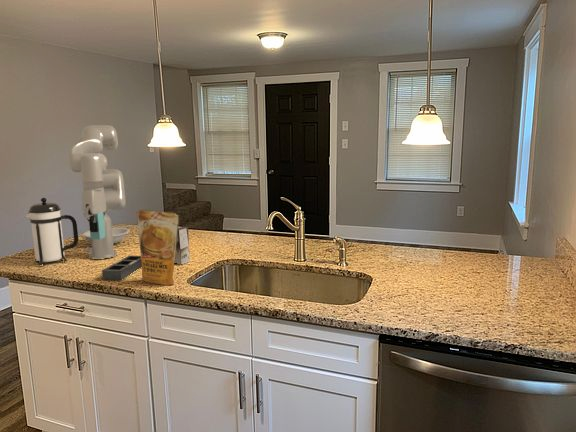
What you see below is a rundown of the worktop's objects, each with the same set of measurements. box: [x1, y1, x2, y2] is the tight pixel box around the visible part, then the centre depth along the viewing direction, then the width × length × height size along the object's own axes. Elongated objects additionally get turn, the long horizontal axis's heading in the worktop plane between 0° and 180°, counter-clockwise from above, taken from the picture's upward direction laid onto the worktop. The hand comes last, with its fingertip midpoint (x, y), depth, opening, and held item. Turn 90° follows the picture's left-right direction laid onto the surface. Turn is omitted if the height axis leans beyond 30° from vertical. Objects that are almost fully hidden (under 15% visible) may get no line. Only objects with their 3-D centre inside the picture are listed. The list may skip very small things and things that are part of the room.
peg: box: [90, 212, 105, 239], centre depth 181 cm, size 4×4×11 cm
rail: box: [101, 255, 142, 281], centre depth 189 cm, size 8×22×4 cm, turn 172°
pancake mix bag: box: [136, 209, 180, 286], centre depth 174 cm, size 7×19×28 cm, turn 64°
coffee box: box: [174, 225, 191, 265], centre depth 201 cm, size 9×6×16 cm
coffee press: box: [25, 197, 79, 266], centre depth 204 cm, size 17×16×30 cm
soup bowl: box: [81, 227, 131, 245], centre depth 238 cm, size 24×24×7 cm
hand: (97, 230), depth 181 cm, fingers closed on peg, 4 cm apart
